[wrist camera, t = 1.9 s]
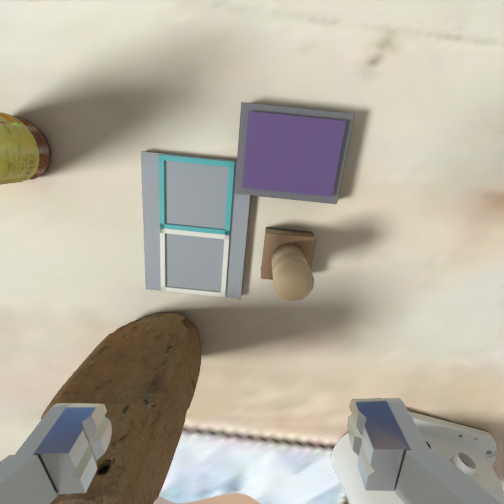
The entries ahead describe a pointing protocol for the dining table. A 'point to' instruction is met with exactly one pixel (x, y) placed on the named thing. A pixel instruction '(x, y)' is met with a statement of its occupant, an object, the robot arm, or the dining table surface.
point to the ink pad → (291, 152)
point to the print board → (193, 225)
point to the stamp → (288, 261)
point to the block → (137, 405)
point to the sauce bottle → (21, 150)
